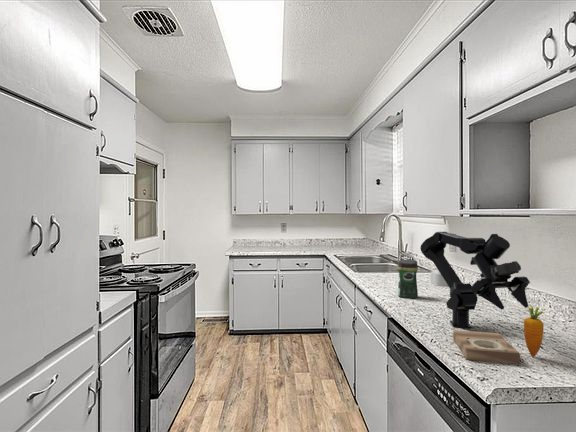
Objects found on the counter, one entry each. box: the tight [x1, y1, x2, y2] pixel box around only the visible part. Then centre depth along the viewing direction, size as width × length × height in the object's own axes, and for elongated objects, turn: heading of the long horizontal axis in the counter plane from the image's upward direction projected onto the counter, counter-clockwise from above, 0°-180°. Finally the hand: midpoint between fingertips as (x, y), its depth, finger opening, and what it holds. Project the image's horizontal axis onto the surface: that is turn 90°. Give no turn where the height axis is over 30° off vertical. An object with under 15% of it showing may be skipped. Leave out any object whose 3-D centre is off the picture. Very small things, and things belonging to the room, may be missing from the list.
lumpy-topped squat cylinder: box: [430, 269, 449, 287], centre depth 222 cm, size 10×13×9 cm
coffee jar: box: [397, 259, 419, 299], centre depth 190 cm, size 10×8×19 cm
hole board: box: [452, 329, 521, 365], centre depth 118 cm, size 18×14×3 cm
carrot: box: [523, 306, 545, 358], centre depth 113 cm, size 5×5×15 cm
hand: (515, 308), depth 119 cm, fingers open, 9 cm apart
